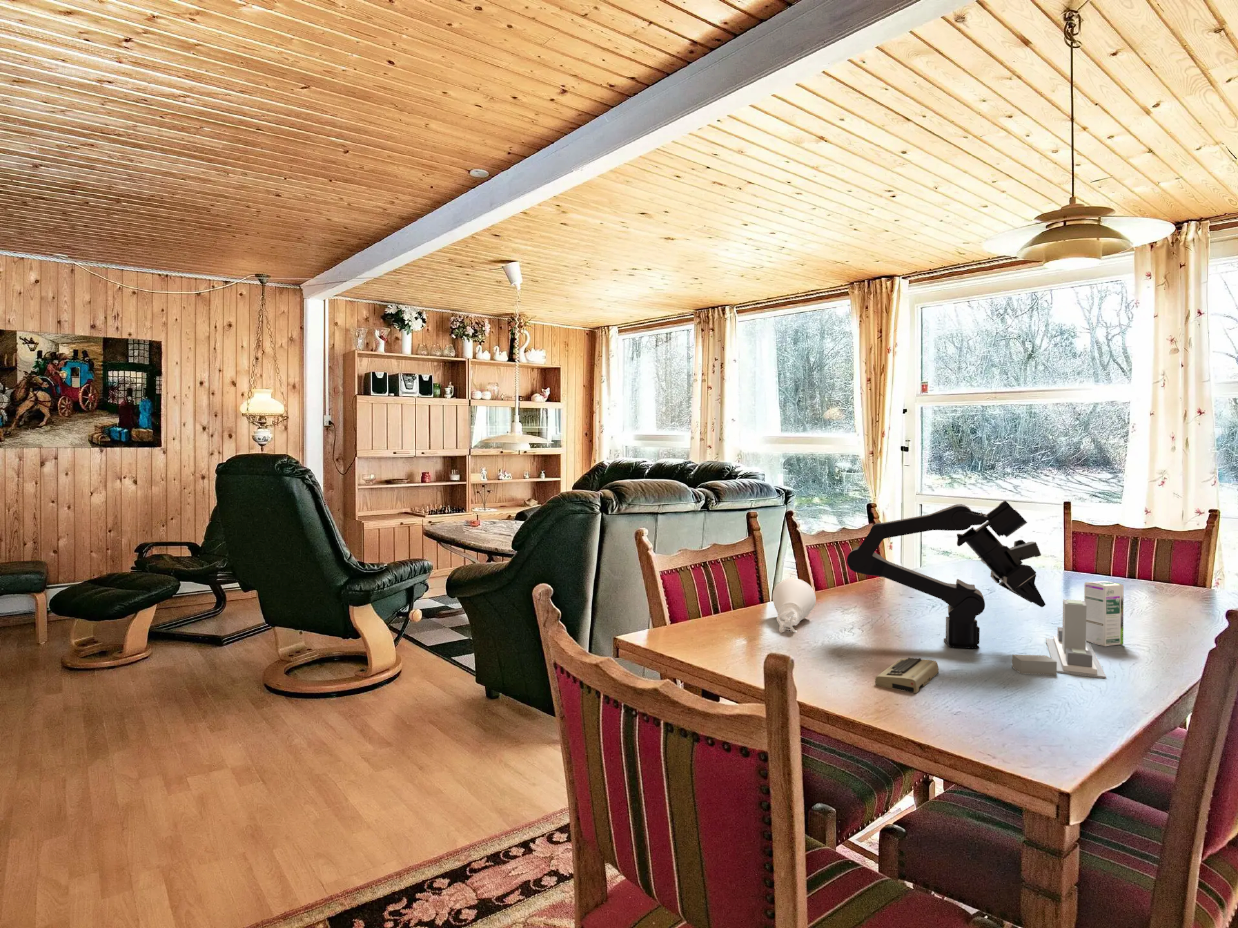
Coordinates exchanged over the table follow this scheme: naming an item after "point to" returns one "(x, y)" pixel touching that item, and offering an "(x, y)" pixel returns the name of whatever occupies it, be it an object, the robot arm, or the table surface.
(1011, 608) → the table surface
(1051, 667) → the block
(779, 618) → the rocket engine
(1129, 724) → the table surface
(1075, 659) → the module near
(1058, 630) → the module far
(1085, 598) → the syrup box
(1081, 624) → the panel
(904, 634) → the table surface
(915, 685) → the computer
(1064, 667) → the rail
